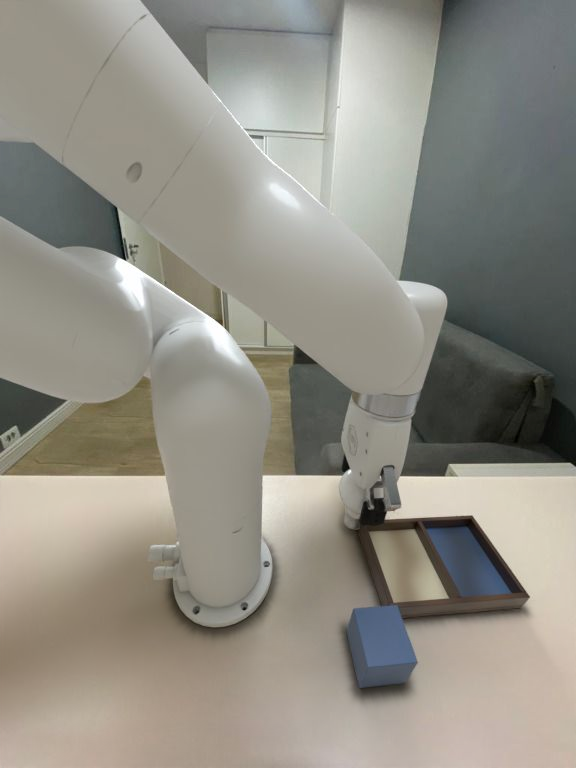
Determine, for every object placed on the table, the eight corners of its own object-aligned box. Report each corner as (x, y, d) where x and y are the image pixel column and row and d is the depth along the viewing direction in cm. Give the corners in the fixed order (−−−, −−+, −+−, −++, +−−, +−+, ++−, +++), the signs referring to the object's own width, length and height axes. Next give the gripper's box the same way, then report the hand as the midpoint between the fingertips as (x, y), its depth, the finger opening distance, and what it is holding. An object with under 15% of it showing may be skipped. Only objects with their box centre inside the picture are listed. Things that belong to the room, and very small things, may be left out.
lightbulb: (327, 535, 46) (338, 483, 40) (335, 502, 51) (346, 452, 46) (370, 549, 44) (388, 497, 39) (373, 514, 50) (389, 464, 44)
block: (358, 688, 31) (367, 667, 29) (346, 630, 36) (353, 608, 33) (405, 683, 32) (418, 662, 29) (387, 626, 36) (397, 604, 34)
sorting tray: (386, 619, 37) (390, 608, 36) (357, 531, 47) (360, 520, 46) (521, 608, 39) (530, 597, 38) (466, 525, 49) (472, 515, 48)
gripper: (336, 360, 43) (323, 453, 52) (380, 442, 28) (351, 554, 37) (387, 360, 44) (366, 452, 52) (456, 440, 29) (411, 550, 37)
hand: (360, 494), depth 45 cm, fingers open, 8 cm apart
